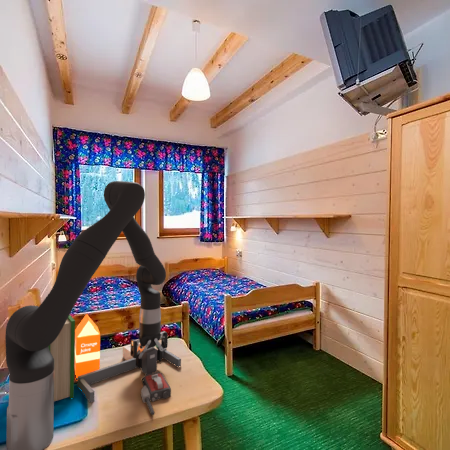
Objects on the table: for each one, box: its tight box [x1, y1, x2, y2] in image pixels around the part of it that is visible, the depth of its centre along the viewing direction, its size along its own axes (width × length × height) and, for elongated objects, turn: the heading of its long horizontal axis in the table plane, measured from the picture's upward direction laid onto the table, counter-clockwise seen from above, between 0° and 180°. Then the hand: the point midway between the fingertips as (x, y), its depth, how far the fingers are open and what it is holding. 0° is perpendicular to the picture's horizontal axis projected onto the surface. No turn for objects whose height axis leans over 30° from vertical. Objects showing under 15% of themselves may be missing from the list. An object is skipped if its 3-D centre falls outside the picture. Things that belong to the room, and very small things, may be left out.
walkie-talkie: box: [140, 371, 172, 416], centre depth 94 cm, size 9×4×20 cm
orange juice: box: [74, 313, 101, 379], centre depth 106 cm, size 8×9×20 cm
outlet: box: [122, 342, 156, 361], centre depth 118 cm, size 9×9×4 cm
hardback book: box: [48, 314, 76, 402], centre depth 95 cm, size 18×7×24 cm, turn 39°
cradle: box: [77, 348, 182, 404], centre depth 105 cm, size 33×11×4 cm, turn 134°
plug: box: [140, 347, 158, 375], centre depth 108 cm, size 4×4×8 cm
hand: (149, 364), depth 108 cm, fingers open, 7 cm apart
